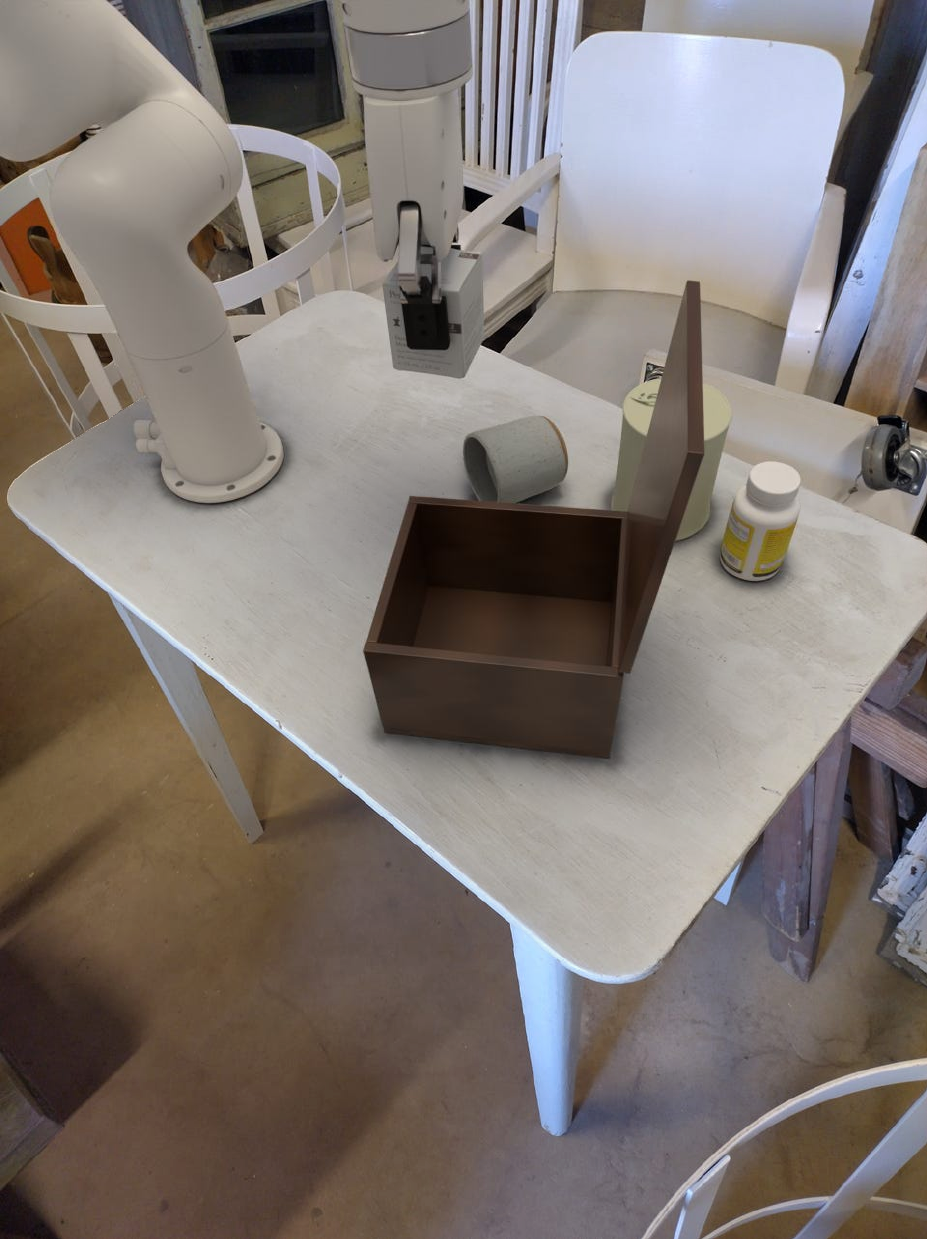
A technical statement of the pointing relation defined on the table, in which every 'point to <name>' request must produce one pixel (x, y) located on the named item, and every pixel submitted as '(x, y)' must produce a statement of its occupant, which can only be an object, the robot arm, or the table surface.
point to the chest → (502, 625)
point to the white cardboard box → (463, 316)
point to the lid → (664, 475)
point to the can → (633, 440)
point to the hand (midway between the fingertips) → (436, 318)
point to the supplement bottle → (761, 522)
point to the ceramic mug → (515, 459)
